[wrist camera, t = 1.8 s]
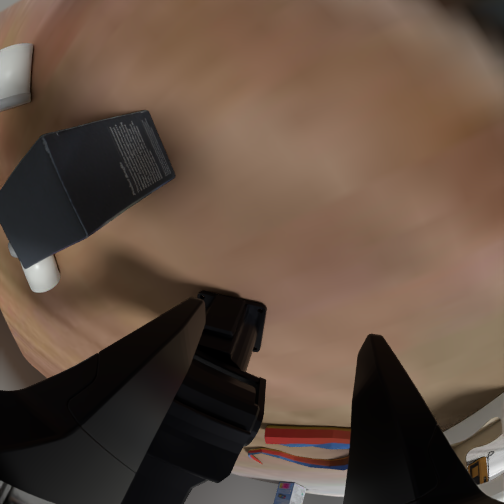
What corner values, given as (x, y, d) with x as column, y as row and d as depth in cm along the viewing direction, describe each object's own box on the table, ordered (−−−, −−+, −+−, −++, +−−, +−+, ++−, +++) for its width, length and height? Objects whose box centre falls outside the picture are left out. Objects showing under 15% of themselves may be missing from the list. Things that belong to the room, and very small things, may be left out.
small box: (99, 217, 25) (23, 274, 16) (74, 160, 22) (-11, 202, 13) (180, 180, 21) (87, 244, 12) (148, 106, 18) (37, 129, 9)
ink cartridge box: (277, 481, 61) (267, 520, 49) (294, 481, 58) (284, 522, 46) (291, 487, 64) (282, 523, 52) (306, 487, 62) (298, 524, 49)
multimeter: (481, 463, 43) (483, 510, 26) (461, 469, 45) (461, 518, 28) (507, 445, 35) (511, 497, 19) (487, 452, 38) (490, 507, 21)
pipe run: (69, 276, 31) (40, 302, 26) (44, 266, 32) (18, 289, 27) (43, 40, 15) (0, 44, 10) (18, 55, 16) (-20, 62, 11)
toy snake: (326, 470, 50) (324, 486, 46) (239, 457, 51) (234, 474, 47) (402, 423, 34) (404, 448, 30) (276, 408, 35) (271, 437, 31)
